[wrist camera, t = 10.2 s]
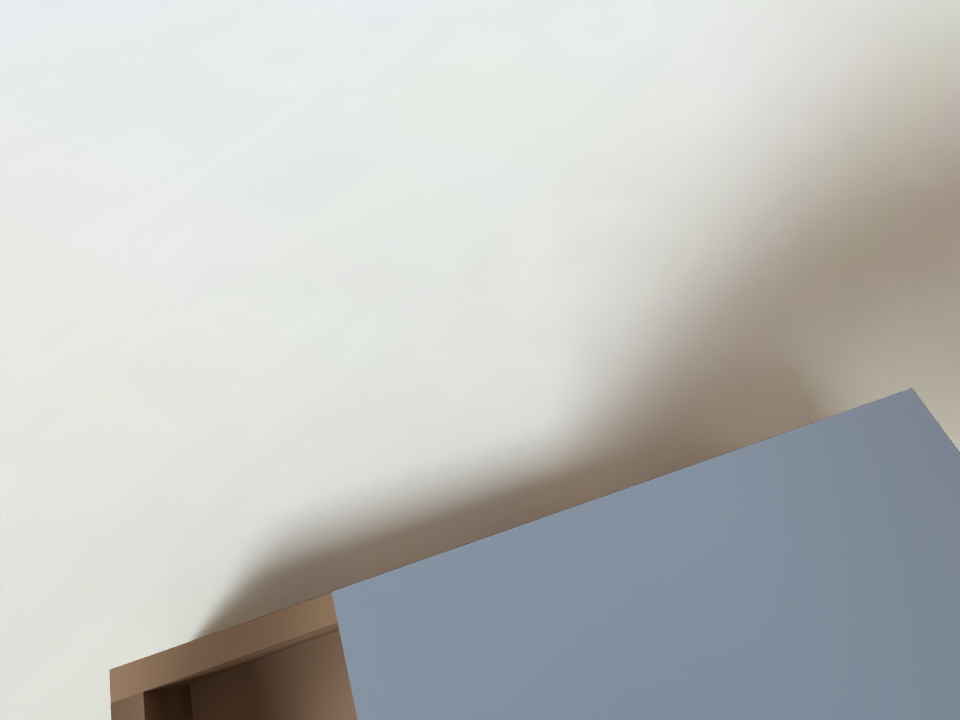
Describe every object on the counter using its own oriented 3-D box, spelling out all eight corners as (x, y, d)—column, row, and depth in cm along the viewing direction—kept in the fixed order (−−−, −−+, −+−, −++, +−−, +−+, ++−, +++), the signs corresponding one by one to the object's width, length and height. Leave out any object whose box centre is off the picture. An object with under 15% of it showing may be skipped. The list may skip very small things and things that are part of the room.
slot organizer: (749, 460, 21) (798, 429, 18) (872, 678, 18) (956, 687, 15) (172, 663, 18) (109, 669, 15) (198, 974, 15) (125, 1065, 12)
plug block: (589, 574, 15) (911, 389, 4) (659, 749, 13) (1595, 1306, 2) (441, 628, 14) (331, 592, 3) (495, 820, 12) (638, 2100, 2)
